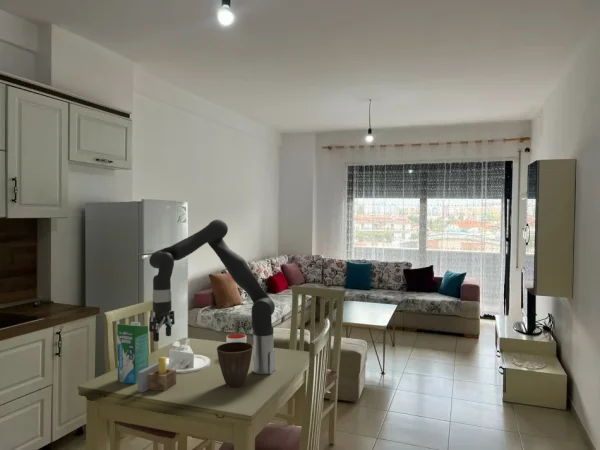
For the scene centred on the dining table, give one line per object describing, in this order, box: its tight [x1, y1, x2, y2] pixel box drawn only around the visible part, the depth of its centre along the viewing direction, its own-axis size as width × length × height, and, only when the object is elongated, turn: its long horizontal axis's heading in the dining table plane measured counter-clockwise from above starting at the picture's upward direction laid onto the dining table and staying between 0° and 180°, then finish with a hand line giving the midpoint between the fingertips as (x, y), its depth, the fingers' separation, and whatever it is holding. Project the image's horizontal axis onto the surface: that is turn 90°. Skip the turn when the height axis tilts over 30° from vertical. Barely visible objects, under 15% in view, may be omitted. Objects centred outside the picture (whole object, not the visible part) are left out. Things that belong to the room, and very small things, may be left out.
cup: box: [226, 333, 247, 343], centre depth 229 cm, size 10×10×10 cm
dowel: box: [158, 356, 167, 375], centre depth 188 cm, size 3×3×12 cm
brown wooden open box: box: [147, 369, 177, 392], centre depth 188 cm, size 8×8×6 cm
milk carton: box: [116, 321, 149, 385], centre depth 196 cm, size 9×9×25 cm
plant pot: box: [216, 342, 253, 389], centre depth 189 cm, size 15×15×16 cm
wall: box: [137, 361, 159, 393], centre depth 189 cm, size 2×16×8 cm, turn 162°
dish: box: [166, 338, 211, 374], centre depth 216 cm, size 25×25×11 cm
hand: (162, 338), depth 187 cm, fingers open, 8 cm apart
